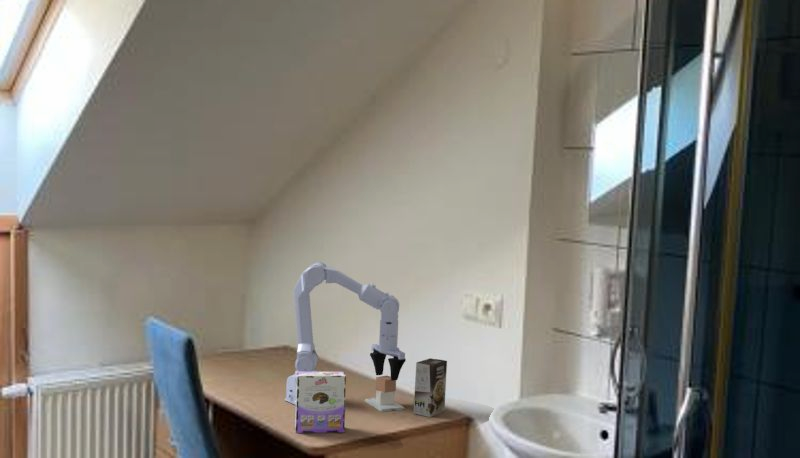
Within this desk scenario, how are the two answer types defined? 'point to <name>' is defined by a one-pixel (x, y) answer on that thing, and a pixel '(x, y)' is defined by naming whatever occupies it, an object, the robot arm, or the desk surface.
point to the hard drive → (384, 407)
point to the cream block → (384, 398)
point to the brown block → (385, 384)
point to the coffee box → (430, 387)
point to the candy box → (320, 402)
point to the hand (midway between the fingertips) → (386, 377)
